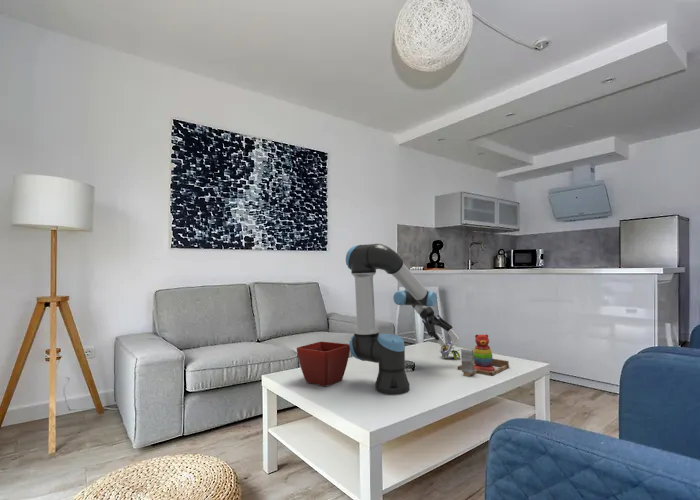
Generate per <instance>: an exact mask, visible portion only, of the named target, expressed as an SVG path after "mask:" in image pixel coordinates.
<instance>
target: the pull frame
mask: <svg viewBox="0 0 700 500" xmlns="http://www.w3.org/2000/svg"><path fill="white" fill-rule="evenodd" d="M460 351H461V352H460V354H461V355H460V358H461V359H460V360H461V365H458V366H457V368H456V370H459V371H461V373H462V374H463V375H462V376H463V377H472V376H475V375H476V374H481V375H485V376H490V377H493V376H495V375H497V374H499V373H502V372H504V371H506V370H508V369H509V368H510V364H509V360H505V359H504V360H503V359H499V358H493V359H492V366H493V367H496V369H495V370H494V371H492V372H489V371H484V370H478V369H474V365H475V361H474V349H472V348H465V347H463V348H460ZM497 367H498V368H497Z"/></svg>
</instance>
